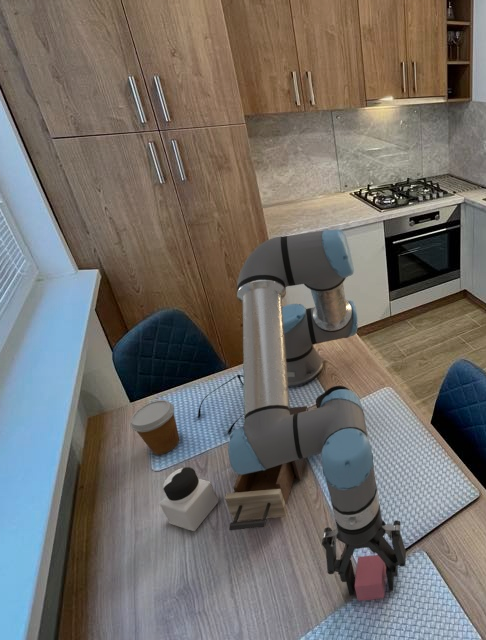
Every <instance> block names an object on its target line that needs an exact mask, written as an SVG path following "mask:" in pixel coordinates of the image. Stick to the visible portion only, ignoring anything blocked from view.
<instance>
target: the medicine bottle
mask: <svg viewBox="0 0 486 640" xmlns="http://www.w3.org/2000/svg"><path fill="white" fill-rule="evenodd" d="M164 480H165V481H164V482H163V485H162V489H163V491H164V494H165V497H164V498H163V499H162V500H161V501H160V502H159V506H160V508H161V510H162V511H163V514H164V516H165V517H166V520H167V521H168V523H169V524H170V525H172V526H176V527H179V528H182V529H185V530H189V531H191V532H196V530H197V529H198V528H200V526H201V525H202V523H203V522H204V521H205V519H206V518H207V517H208V516H209V514H210V513H211V512H212V511H213V510H214V508H215V507H216V506H217V504H218V503H219V499H218V497H217V494H216V492H215V489H214V487H213V485H212V482H210V481H208V480H205V479H201V478H199V477H198V474H197V473H196V470H195V469H194V468H192V467H189V466H188V467H187V466H185V467H181V468H178V469H176V470H174V471H173V472H172V473H170V474H169V475H168V476H167V477H166V478H165V479H164Z"/></svg>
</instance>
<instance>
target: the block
mask: <svg viewBox="0 0 486 640" xmlns="http://www.w3.org/2000/svg"><path fill="white" fill-rule="evenodd" d="M355 570H356V571H355V586H354V592H355V594H356V599H357V601H358V602H360V601H371V600H372V601H373V600H381V599H385V596H386V580H387V575H386V564H385V563H384V562H383V560H382V559H381V558H380V557H379V556H378V554H373V555H364V556H363V555H362V556H357V561H356V569H355Z"/></svg>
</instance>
